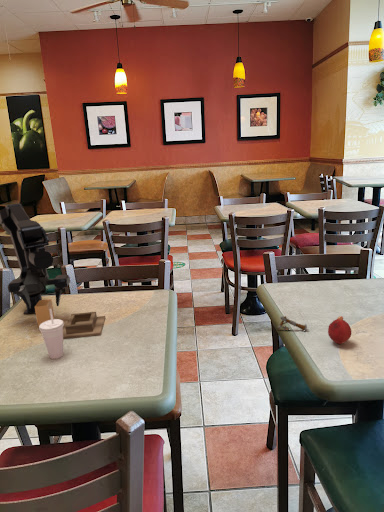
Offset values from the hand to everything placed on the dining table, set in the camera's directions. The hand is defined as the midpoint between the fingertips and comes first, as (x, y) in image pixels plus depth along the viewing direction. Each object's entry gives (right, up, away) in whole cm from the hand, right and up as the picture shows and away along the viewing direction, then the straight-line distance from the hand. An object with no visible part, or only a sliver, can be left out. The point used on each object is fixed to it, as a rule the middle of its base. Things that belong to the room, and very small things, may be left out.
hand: (43, 307), depth 132 cm
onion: (+89, -7, -26) cm, 93 cm away
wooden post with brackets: (+79, -5, -17) cm, 81 cm away
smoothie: (+12, -11, -22) cm, 27 cm away
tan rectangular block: (0, -5, +1) cm, 5 cm away
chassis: (+15, -6, -6) cm, 17 cm away
